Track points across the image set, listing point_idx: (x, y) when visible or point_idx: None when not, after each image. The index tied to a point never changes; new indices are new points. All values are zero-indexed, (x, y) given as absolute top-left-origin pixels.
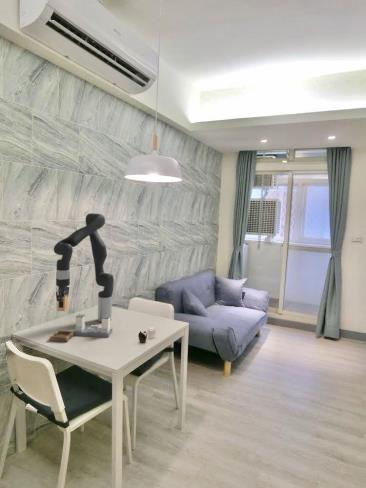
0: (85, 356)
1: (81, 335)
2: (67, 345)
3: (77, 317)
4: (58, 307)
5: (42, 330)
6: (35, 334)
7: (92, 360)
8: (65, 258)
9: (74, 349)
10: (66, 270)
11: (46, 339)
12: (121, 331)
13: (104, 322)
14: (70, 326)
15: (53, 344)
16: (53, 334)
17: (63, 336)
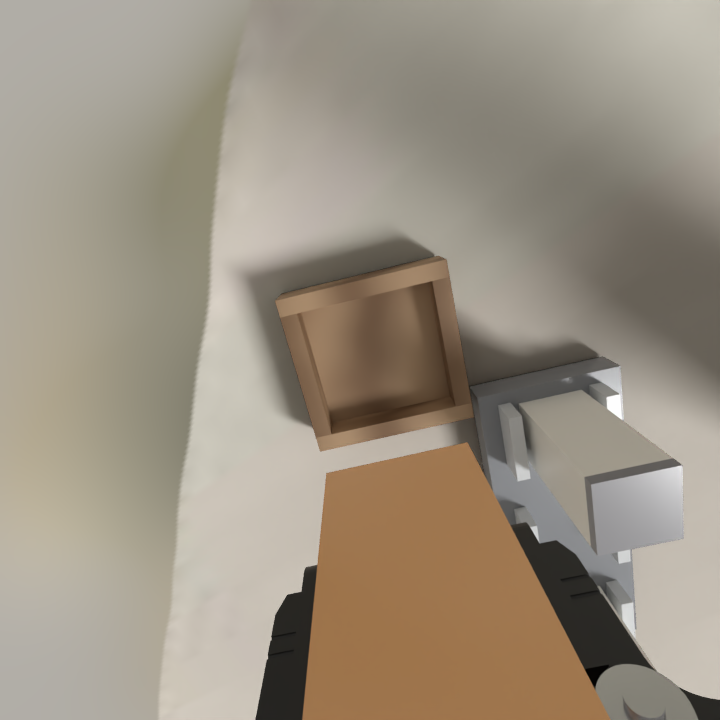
0: (186, 645)
1: (482, 457)
2: (275, 466)
3: (584, 492)
4: (325, 531)
5: (498, 6)
6: (368, 20)
7: (163, 696)
8: None
9: (240, 542)
10: None
11: (304, 233)
12: (650, 646)
13: None
14: (684, 227)
15: (242, 361)
16: (337, 292)
17: (389, 357)
